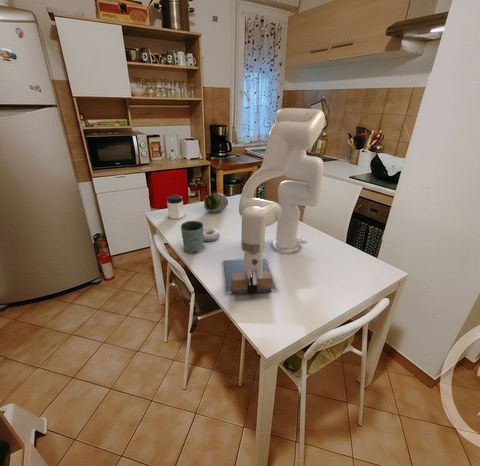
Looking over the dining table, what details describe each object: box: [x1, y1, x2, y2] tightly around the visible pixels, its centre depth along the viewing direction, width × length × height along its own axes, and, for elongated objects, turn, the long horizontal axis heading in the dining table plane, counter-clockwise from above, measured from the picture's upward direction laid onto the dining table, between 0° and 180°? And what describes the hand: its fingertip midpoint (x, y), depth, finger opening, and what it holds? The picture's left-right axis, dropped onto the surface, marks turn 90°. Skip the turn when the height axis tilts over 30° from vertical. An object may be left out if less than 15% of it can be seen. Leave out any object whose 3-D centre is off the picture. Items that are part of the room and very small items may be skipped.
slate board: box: [223, 257, 276, 292], centre depth 103 cm, size 18×20×1 cm
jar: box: [166, 194, 185, 220], centre depth 151 cm, size 9×8×12 cm
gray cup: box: [180, 220, 204, 254], centre depth 119 cm, size 10×10×12 cm
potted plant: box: [203, 192, 229, 214], centre depth 158 cm, size 12×13×15 cm
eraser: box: [231, 270, 273, 295], centre depth 93 cm, size 14×4×6 cm, turn 96°
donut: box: [203, 227, 220, 242], centre depth 130 cm, size 10×3×10 cm
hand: (251, 287), depth 94 cm, fingers closed on eraser, 4 cm apart
